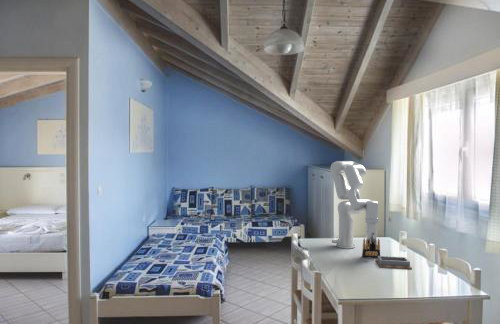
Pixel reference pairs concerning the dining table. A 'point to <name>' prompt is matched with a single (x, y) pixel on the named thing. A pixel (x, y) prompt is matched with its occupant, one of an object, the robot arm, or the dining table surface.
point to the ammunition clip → (371, 253)
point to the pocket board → (393, 262)
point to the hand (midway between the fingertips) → (371, 248)
